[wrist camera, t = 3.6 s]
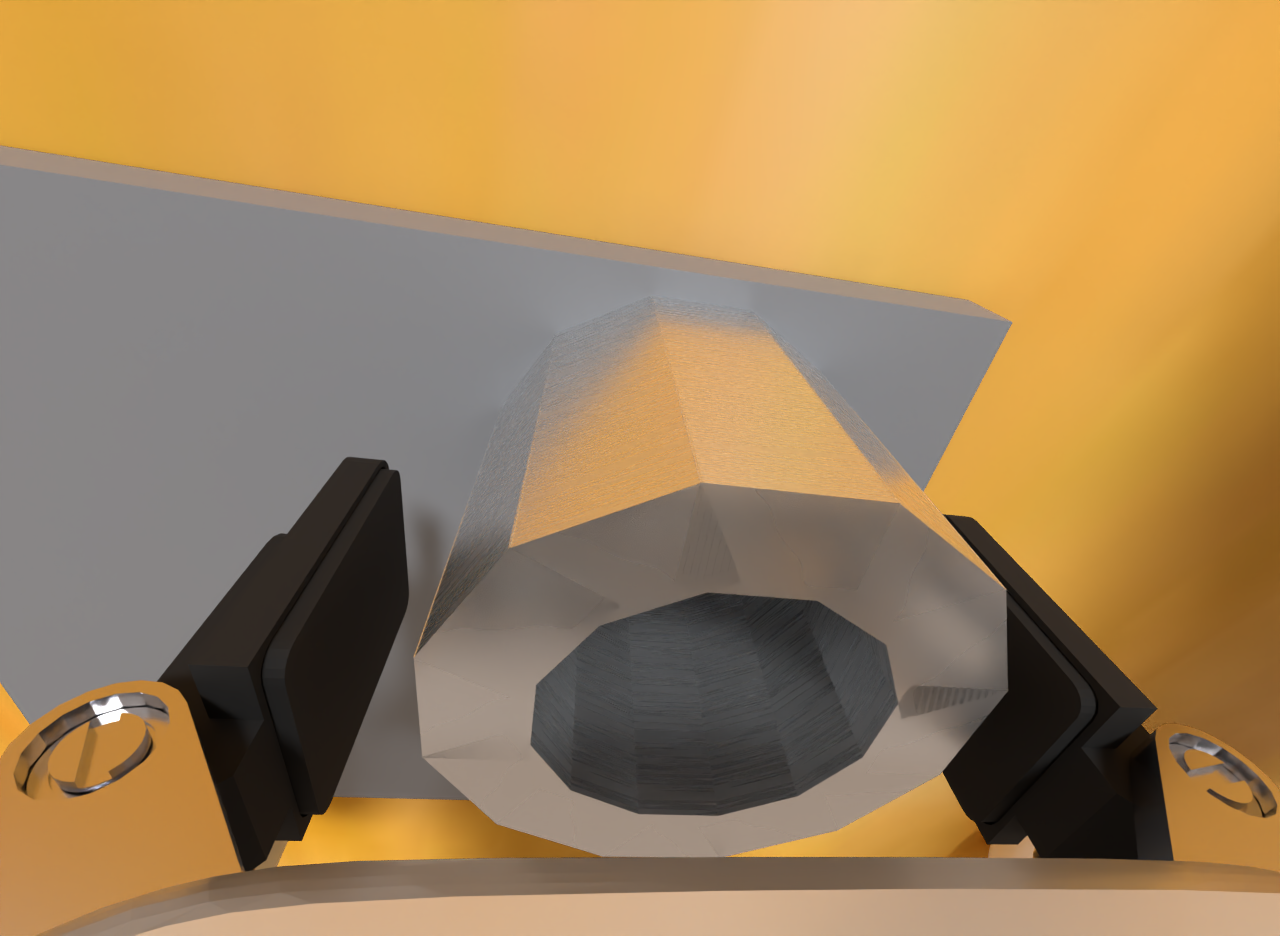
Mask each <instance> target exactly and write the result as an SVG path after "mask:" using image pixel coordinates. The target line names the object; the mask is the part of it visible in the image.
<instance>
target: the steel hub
mask: <svg viewBox="0 0 1280 936" xmlns="http://www.w3.org/2000/svg"><path fill="white" fill-rule="evenodd" d="M1006 591H1007V590H1006V588H1005V587H1004V586H1003V585H1002V584H1001V582H1000V581H999V580H998V579H997V578H996V577H995V575H994V574H993V573H992V572H991V571H990V569H989V568H988V567H987V566H986V565H985V564H984V562H983V561H982V560H981V559H980V558H979V557H978V555H977V554H976V553H975V552H974V551H973V550H972V548H971V547H970V546H969V545H968V544H967V543H966V541H965V540H964V539H963V538H962V537H961V535H960V534H959V533H958V532H957V531H956V530H955V528H954V527H953V526H952V525H951V524H950V523H949V521H948V520H947V519H946V518H945V517H944V516H943V514H942V513H941V512H940V511H939V510H938V509H937V507H936V506H935V505H934V504H933V503H932V502H931V500H930V499H929V498H928V497H927V496H926V494H925V493H924V492H923V491H922V490H921V489H920V487H919V486H918V485H917V484H916V483H915V482H914V480H913V479H912V478H911V477H910V476H909V475H908V473H907V472H906V471H905V470H904V469H903V468H902V466H901V465H900V464H899V463H898V462H897V460H896V459H895V458H894V457H893V456H892V455H891V453H890V452H889V451H888V450H887V449H886V448H885V446H884V445H883V444H882V443H881V442H880V441H879V439H878V438H877V437H876V436H875V435H874V434H873V432H872V431H871V430H870V429H869V428H868V426H867V425H866V424H865V423H864V422H863V421H862V419H861V418H860V417H859V416H858V415H857V414H856V412H855V411H854V410H853V409H852V408H851V407H850V405H849V404H848V403H847V402H846V401H845V400H844V398H843V397H842V396H841V395H840V394H839V393H838V391H837V390H836V389H835V388H834V387H833V385H832V384H831V383H830V382H829V381H828V380H827V378H826V377H825V376H824V375H823V374H822V373H821V371H820V370H819V369H817V368H816V367H815V366H814V365H813V364H812V363H811V362H810V361H808V360H807V359H806V358H805V357H804V356H803V355H802V354H801V353H799V352H798V351H797V350H796V349H795V348H794V347H793V346H791V345H790V344H789V343H788V342H787V341H786V340H785V339H784V338H782V337H781V336H780V335H779V334H778V333H777V332H776V331H774V330H773V329H772V328H771V327H770V326H769V325H768V324H767V323H765V322H764V321H763V320H762V319H761V318H760V317H759V316H758V315H756V314H755V313H754V312H753V311H752V310H746V309H739V308H733V307H726V306H719V305H713V304H706V303H699V302H692V301H686V300H679V299H672V298H665V297H659V296H652V295H651V296H649V297H646V298H644V299H641V300H639V301H636V302H634V303H631V304H629V305H626V306H624V307H621V308H619V309H616V310H614V311H611V312H609V313H606V314H604V315H601V316H599V317H596V318H594V319H591V320H589V321H586V322H584V323H581V324H579V325H576V326H574V327H571V328H569V329H566V330H564V331H561V332H559V333H556V334H555V336H554V337H553V338H552V340H551V341H550V342H549V344H548V345H547V346H546V348H545V349H544V350H543V352H542V353H541V354H540V356H539V357H538V358H537V360H536V361H535V363H534V364H533V365H532V367H531V368H530V369H529V371H528V372H527V373H526V375H525V376H524V377H523V379H522V380H521V381H520V383H519V384H518V385H517V387H516V388H515V389H514V391H513V392H512V393H511V395H510V396H509V397H508V399H507V400H506V401H505V403H504V404H503V405H502V407H501V410H500V412H499V415H498V418H497V421H496V424H495V427H494V430H493V432H492V435H491V438H490V441H489V444H488V447H487V449H486V452H485V455H484V458H483V461H482V464H481V467H480V469H479V472H478V475H477V478H476V481H475V484H474V486H473V489H472V492H471V495H470V498H469V501H468V504H467V506H466V509H465V512H464V515H463V518H462V521H461V524H460V526H459V529H458V532H457V535H456V538H455V541H454V543H453V546H452V549H451V552H450V555H449V558H448V561H447V563H446V566H445V569H444V572H443V575H442V578H441V580H440V583H439V586H438V589H437V592H436V595H435V598H434V600H433V603H432V606H431V609H430V612H429V615H428V618H427V620H426V623H425V626H424V629H423V632H422V635H421V637H420V640H419V643H418V646H417V649H416V652H415V655H414V657H413V658H414V666H415V678H416V690H417V701H418V713H419V725H420V736H421V748H422V758H424V759H425V760H426V761H427V762H428V763H429V764H430V765H431V766H433V767H434V768H435V769H436V770H437V771H438V772H439V773H440V774H441V775H443V776H444V777H445V778H446V779H447V780H448V781H449V782H450V783H451V784H453V785H454V786H455V787H456V788H457V789H458V790H459V791H460V792H461V793H463V794H464V795H465V796H466V797H467V798H468V799H469V800H470V801H471V802H473V803H474V804H475V805H476V806H477V807H478V808H479V809H480V810H481V811H483V812H484V813H485V814H486V815H487V816H488V817H489V818H490V819H491V820H493V821H494V822H495V823H496V824H497V825H501V826H504V827H507V828H511V829H514V830H517V831H521V832H524V833H527V834H530V835H534V836H537V837H540V838H544V839H547V840H550V841H553V842H557V843H560V844H563V845H567V846H570V847H573V848H576V849H580V850H583V851H586V852H590V853H593V854H596V855H599V856H602V857H726V856H730V855H735V854H739V853H743V852H748V851H752V850H756V849H760V848H765V847H769V846H773V845H777V844H782V843H786V842H790V841H794V840H799V839H803V838H807V837H811V836H816V835H820V834H824V833H829V832H833V831H837V830H839V829H841V828H843V827H844V826H846V825H848V824H850V823H852V822H854V821H855V820H857V819H859V818H861V817H863V816H865V815H866V814H868V813H870V812H872V811H874V810H876V809H878V808H879V807H881V806H883V805H885V804H887V803H889V802H890V801H892V800H894V799H896V798H898V797H900V796H901V795H903V794H905V793H907V792H909V791H911V790H913V789H914V788H916V787H918V786H920V785H922V784H924V783H925V782H927V781H929V780H931V779H933V778H935V777H936V776H938V775H940V774H941V773H942V771H943V770H944V769H945V768H946V766H947V765H948V764H949V763H950V762H951V760H952V759H953V758H954V757H955V755H956V754H957V753H958V752H959V750H960V749H961V748H962V747H963V746H964V744H965V743H966V742H967V741H968V739H969V738H970V737H971V736H972V734H973V733H974V732H975V731H976V730H977V728H978V727H979V726H980V725H981V723H982V722H983V721H984V720H985V719H986V717H987V716H988V715H989V714H990V712H991V711H992V710H993V709H994V707H995V706H996V705H997V704H998V703H999V701H1000V700H1001V699H1002V698H1003V696H1004V695H1005V694H1006V693H1007V692H1008V676H1007V607H1006Z"/></svg>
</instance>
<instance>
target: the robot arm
mask: <svg viewBox="0 0 1280 936" xmlns="http://www.w3.org/2000/svg"><path fill="white" fill-rule="evenodd" d="M943 516H944V517H945V518H946V519H947V520H948V521H949V523H950V524H951V525H952V526H953V527H954V528H955V530H956V531H957V532H958V533H959V534H960V535H961V537H962V538H963V539H964V540H965V541H966V543H967V544H968V545H969V546H970V547H971V548H972V550H973V551H974V552H975V553H976V554H977V555H978V557H979V558H980V559H981V560H982V561H983V562H984V564H985V565H986V566H987V567H988V568H989V569H990V571H991V572H992V573H993V574H994V575H995V577H996V578H997V579H998V580H999V581H1000V582H1001V584H1002V585H1003V586H1004V587H1005V588H1006V590H1007V591H1006V607H1007V676H1008V692H1007V693H1006V694H1005V695H1004V696H1003V698H1002V699H1001V700H1000V701H999V703H998V704H997V705H996V706H995V707H994V709H993V710H992V711H991V712H990V714H989V715H988V716H987V717H986V719H985V720H984V721H983V722H982V723H981V725H980V726H979V727H978V728H977V730H976V731H975V732H974V733H973V734H972V736H971V737H970V738H969V739H968V741H967V742H966V743H965V744H964V746H963V747H962V748H961V749H960V750H959V752H958V753H957V754H956V755H955V757H954V758H953V759H952V760H951V762H950V763H949V764H948V765H947V766H946V768H945V769H944V770H943V771H942V772H943V774H944V776H945V778H946V779H947V781H948V783H949V785H950V787H951V789H952V791H953V793H954V794H955V796H956V798H957V800H958V802H959V804H960V806H961V807H962V809H963V811H964V812H965V814H966V815H967V816H968V817H969V818H970V819H971V820H973V821H975V823H976V825H977V826H978V828H979V830H980V832H981V834H982V836H983V837H984V839H985V841H986V843H987V844H1001V845H1018V844H1019V843H1020V842H1021V841H1022V840H1023V839H1024V838H1025V837H1026V836H1028V837H1029V839H1030V841H1031V842H1032V844H1033V846H1034V847H1035V848H1034V851H1033V858H939V857H610V858H476V859H431V860H386V861H352V862H338V863H324V864H310V865H296V866H282V867H272V868H265V869H259V870H255V868H256V867H257V866H259V865H260V864H262V863H263V862H264V861H266V860H267V858H268V855H269V853H270V851H271V849H272V847H273V844H274V842H275V841H302V839H303V837H304V834H305V832H306V829H307V827H308V824H309V822H310V820H311V817H312V815H313V814H314V815H322V814H324V813H325V812H326V810H327V809H328V807H329V805H330V803H331V801H332V799H333V796H334V793H335V791H336V788H337V786H338V783H339V781H340V778H341V776H342V773H343V771H344V768H345V765H346V763H347V760H348V758H349V755H350V753H351V750H352V748H353V745H354V743H355V740H356V738H357V735H358V732H359V730H360V727H361V725H362V722H363V720H364V717H365V715H366V712H367V710H368V707H369V705H370V702H371V699H372V697H373V694H374V692H375V689H376V687H377V684H378V682H379V679H380V677H381V674H382V672H383V669H384V666H385V664H386V661H387V659H388V656H389V654H390V651H391V649H392V646H393V644H394V641H395V638H396V636H397V633H398V631H399V628H400V626H401V623H402V621H403V618H404V616H405V613H406V610H407V606H408V600H409V582H408V569H407V556H406V543H405V530H404V517H403V504H402V491H401V478H400V473H399V471H397V470H389V466H388V464H387V462H386V461H385V460H378V459H368V458H358V457H346V458H345V459H344V460H343V461H342V462H341V464H340V465H339V466H338V468H337V469H336V470H335V472H334V473H333V474H332V476H331V477H330V478H329V479H328V481H327V482H326V483H325V485H324V486H323V487H322V489H321V490H320V491H319V493H318V494H317V495H316V497H315V498H314V499H313V500H312V502H311V503H310V504H309V506H308V507H307V508H306V510H305V511H304V512H303V514H302V515H301V516H300V518H299V519H298V520H297V521H296V523H295V524H294V525H293V527H292V528H291V529H290V531H289V532H288V533H287V534H284V533H280V534H278V535H275V536H273V537H272V538H271V539H270V540H269V541H268V542H267V543H266V544H265V546H264V547H263V548H262V549H261V551H260V552H259V553H258V555H257V556H256V557H255V558H254V560H253V561H252V562H251V563H250V565H249V566H248V567H247V568H246V570H245V571H244V572H243V573H242V575H241V576H240V577H239V578H238V580H237V581H236V582H235V583H234V585H233V586H232V587H231V589H230V590H229V591H228V592H227V594H226V595H225V596H224V597H223V599H222V600H221V601H220V602H219V604H218V605H217V606H216V607H215V609H214V610H213V611H212V612H211V614H210V615H209V616H208V617H207V619H206V620H205V621H204V623H203V624H202V625H201V626H200V628H199V629H198V630H197V631H196V633H195V634H194V635H193V636H192V638H191V639H190V640H189V641H188V643H187V644H186V645H185V646H184V648H183V649H182V650H181V651H180V653H179V654H178V655H177V657H176V658H175V659H174V660H173V662H172V663H171V664H170V665H169V667H168V668H167V669H166V670H165V672H164V673H163V674H162V675H161V677H160V678H159V679H158V680H157V682H154V681H145V680H138V681H130V682H121V683H115V684H111V685H108V686H105V687H101V688H98V689H95V690H91V691H88V692H86V693H84V694H82V695H80V696H77V697H75V698H73V699H71V700H69V701H67V702H65V703H63V704H60V705H58V706H57V707H55V708H54V709H52V710H51V711H49V712H48V713H46V714H45V715H44V716H42V717H41V718H39V719H38V720H36V721H35V722H33V723H32V724H30V725H29V726H28V727H27V728H26V729H25V730H24V731H23V732H22V733H21V734H20V735H19V736H18V737H17V738H16V739H15V740H14V741H13V742H11V743H10V744H9V746H8V747H7V749H6V750H5V752H4V753H3V755H2V756H1V758H0V936H1280V790H1279V789H1278V787H1277V786H1276V785H1275V784H1274V783H1273V781H1272V780H1271V779H1270V778H1269V777H1268V776H1267V775H1266V774H1265V773H1264V772H1263V771H1261V770H1260V769H1259V768H1258V767H1257V766H1256V765H1255V764H1254V763H1253V762H1251V761H1250V760H1249V759H1247V758H1246V757H1245V756H1243V755H1242V754H1241V753H1239V752H1238V751H1236V750H1235V749H1234V748H1232V747H1231V746H1229V745H1227V744H1226V743H1224V742H1222V741H1220V740H1219V739H1217V738H1215V737H1213V736H1212V735H1210V734H1207V733H1205V732H1203V731H1200V730H1198V729H1196V728H1193V727H1190V726H1186V725H1181V724H1177V723H1170V724H1163V725H1161V726H1160V727H1159V728H1157V729H1156V730H1155V731H1154V732H1153V733H1152V734H1151V735H1150V734H1149V733H1148V732H1147V731H1146V730H1145V729H1144V727H1143V726H1142V725H1141V724H1142V723H1143V722H1144V721H1145V720H1146V719H1147V718H1148V717H1149V716H1150V715H1151V714H1152V713H1153V712H1154V711H1155V710H1156V709H1157V708H1156V707H1155V706H1154V705H1153V704H1152V703H1151V701H1150V700H1149V699H1148V698H1147V697H1146V696H1145V695H1144V694H1143V693H1142V692H1141V691H1140V690H1139V689H1138V688H1137V687H1136V686H1135V685H1134V684H1133V683H1132V682H1131V681H1130V680H1129V679H1128V678H1127V677H1126V676H1125V675H1124V673H1123V672H1122V671H1121V670H1120V669H1119V668H1118V667H1117V666H1116V665H1115V664H1114V663H1113V662H1112V661H1111V660H1110V659H1109V658H1108V657H1107V656H1106V655H1105V654H1104V653H1103V652H1102V651H1101V650H1100V649H1099V648H1098V647H1097V646H1096V644H1095V643H1094V642H1093V641H1092V640H1091V639H1090V638H1089V637H1088V636H1087V635H1086V634H1085V633H1084V632H1083V631H1082V630H1081V629H1080V628H1079V627H1078V626H1077V625H1076V624H1075V623H1074V622H1073V621H1072V620H1071V619H1070V618H1069V616H1068V615H1067V614H1066V613H1065V612H1064V611H1063V610H1062V609H1061V608H1060V607H1059V606H1058V605H1057V604H1056V603H1055V602H1054V601H1053V600H1052V599H1051V598H1050V597H1049V596H1048V595H1047V594H1046V593H1045V592H1044V591H1043V590H1042V588H1041V587H1040V586H1039V585H1038V584H1037V583H1036V582H1035V581H1034V580H1033V579H1032V578H1031V577H1030V576H1029V575H1028V574H1027V573H1026V572H1025V571H1024V570H1023V569H1022V568H1021V567H1020V566H1019V565H1018V564H1017V563H1016V562H1015V561H1014V559H1013V558H1012V557H1011V556H1010V555H1009V554H1008V553H1007V552H1006V551H1005V550H1004V549H1003V548H1002V547H1001V546H1000V545H999V544H998V543H997V542H996V541H995V540H994V539H993V538H992V537H991V536H990V535H989V534H988V533H987V531H986V530H985V529H984V528H983V527H982V526H981V525H980V524H979V523H978V522H977V521H976V520H974V519H973V518H970V517H965V516H955V515H944V514H943Z"/></svg>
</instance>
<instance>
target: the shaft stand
mask: <svg viewBox="0 0 1280 936" xmlns="http://www.w3.org/2000/svg"><path fill="white" fill-rule="evenodd" d="M651 295H652V296H659V297H665V298H672V299H679V300H686V301H692V302H699V303H706V304H713V305H719V306H726V307H733V308H739V309H746V310H752V311H753V312H754V313H755V314H756V315H758V316H759V317H760V318H761V319H762V320H763V321H764V322H765V323H767V324H768V325H769V326H770V327H771V328H772V329H773V330H774V331H776V332H777V333H778V334H779V335H780V336H781V337H782V338H784V339H785V340H786V341H787V342H788V343H789V344H790V345H791V346H793V347H794V348H795V349H796V350H797V351H798V352H799V353H801V354H802V355H803V356H804V357H805V358H806V359H807V360H808V361H810V362H811V363H812V364H813V365H814V366H815V367H816V368H817V369H819V370H820V371H821V373H822V374H823V375H824V376H825V377H826V378H827V380H828V381H829V382H830V383H831V384H832V385H833V387H834V388H835V389H836V390H837V391H838V393H839V394H840V395H841V396H842V397H843V398H844V400H845V401H846V402H847V403H848V404H849V405H850V407H851V408H852V409H853V410H854V411H855V412H856V414H857V415H858V416H859V417H860V418H861V419H862V421H863V422H864V423H865V424H866V425H867V426H868V428H869V429H870V430H871V431H872V432H873V434H874V435H875V436H876V437H877V438H878V439H879V441H880V442H881V443H882V444H883V445H884V446H885V448H886V449H887V450H888V451H889V452H890V453H891V455H892V456H893V457H894V458H895V459H896V460H897V462H898V463H899V464H900V465H901V466H902V468H903V469H904V470H905V471H906V472H907V473H908V475H909V476H910V477H911V478H912V479H913V480H914V482H915V483H916V484H917V485H918V486H919V487H920V489H921V490H922V491H924V489H925V488H926V486H927V484H928V482H929V480H930V478H931V476H932V474H933V472H934V470H935V469H936V467H937V465H938V463H939V461H940V459H941V457H942V455H943V453H944V451H945V450H946V448H947V446H948V444H949V442H950V440H951V438H952V436H953V434H954V432H955V430H956V429H957V427H958V425H959V423H960V421H961V419H962V417H963V415H964V413H965V411H966V410H967V408H968V406H969V404H970V402H971V400H972V398H973V396H974V394H975V392H976V391H977V389H978V387H979V385H980V383H981V381H982V379H983V377H984V375H985V373H986V372H987V370H988V368H989V366H990V364H991V362H992V360H993V358H994V356H995V354H996V353H997V351H998V349H999V347H1000V345H1001V343H1002V341H1003V339H1004V337H1005V335H1006V333H1007V332H1008V330H1009V328H1010V326H1011V324H1012V322H1011V321H1009V320H1007V319H1005V318H1003V317H1001V316H999V315H997V314H995V313H993V312H991V311H989V310H987V309H985V308H983V307H981V306H979V305H977V304H975V303H973V302H971V301H969V300H964V299H958V298H952V297H946V296H939V295H933V294H927V293H920V292H914V291H908V290H902V289H895V288H889V287H883V286H877V285H870V284H864V283H858V282H852V281H845V280H839V279H833V278H827V277H820V276H814V275H808V274H801V273H795V272H789V271H783V270H776V269H770V268H764V267H758V266H751V265H745V264H739V263H733V262H726V261H720V260H714V259H708V258H701V257H695V256H689V255H682V254H676V253H670V252H664V251H657V250H651V249H645V248H639V247H632V246H626V245H620V244H614V243H607V242H601V241H595V240H589V239H582V238H576V237H570V236H563V235H557V234H551V233H545V232H538V231H532V230H526V229H520V228H513V227H507V226H501V225H495V224H488V223H482V222H476V221H469V220H463V219H457V218H451V217H444V216H438V215H432V214H426V213H419V212H413V211H407V210H401V209H394V208H388V207H382V206H376V205H369V204H363V203H357V202H350V201H344V200H338V199H332V198H325V197H319V196H313V195H307V194H300V193H294V192H288V191H282V190H275V189H269V188H263V187H257V186H250V185H244V184H238V183H231V182H225V181H219V180H213V179H206V178H200V177H194V176H188V175H181V174H175V173H169V172H163V171H156V170H150V169H144V168H138V167H131V166H125V165H119V164H112V163H106V162H100V161H94V160H87V159H81V158H75V157H69V156H62V155H56V154H50V153H44V152H37V151H31V150H25V149H19V148H12V147H6V146H0V683H1V684H2V686H3V687H4V688H5V690H6V691H7V693H8V694H9V696H10V697H11V698H12V700H13V701H14V703H15V704H16V705H17V707H18V708H19V710H20V711H21V712H22V714H23V715H24V717H25V718H26V719H27V721H28V722H29V724H32V723H33V722H35V721H36V720H38V719H39V718H41V717H42V716H44V715H45V714H46V713H48V712H49V711H51V710H52V709H54V708H55V707H57V706H58V705H60V704H63V703H65V702H67V701H69V700H71V699H73V698H75V697H77V696H80V695H82V694H84V693H86V692H88V691H91V690H95V689H98V688H101V687H105V686H108V685H111V684H115V683H121V682H130V681H138V680H145V681H154V682H157V680H158V679H159V678H160V677H161V675H162V674H163V673H164V672H165V670H166V669H167V668H168V667H169V665H170V664H171V663H172V662H173V660H174V659H175V658H176V657H177V655H178V654H179V653H180V651H181V650H182V649H183V648H184V646H185V645H186V644H187V643H188V641H189V640H190V639H191V638H192V636H193V635H194V634H195V633H196V631H197V630H198V629H199V628H200V626H201V625H202V624H203V623H204V621H205V620H206V619H207V617H208V616H209V615H210V614H211V612H212V611H213V610H214V609H215V607H216V606H217V605H218V604H219V602H220V601H221V600H222V599H223V597H224V596H225V595H226V594H227V592H228V591H229V590H230V589H231V587H232V586H233V585H234V583H235V582H236V581H237V580H238V578H239V577H240V576H241V575H242V573H243V572H244V571H245V570H246V568H247V567H248V566H249V565H250V563H251V562H252V561H253V560H254V558H255V557H256V556H257V555H258V553H259V552H260V551H261V549H262V548H263V547H264V546H265V544H266V543H267V542H268V541H269V540H270V539H271V538H272V537H273V536H275V535H278V534H280V533H284V534H287V533H288V532H289V531H290V529H291V528H292V527H293V525H294V524H295V523H296V521H297V520H298V519H299V518H300V516H301V515H302V514H303V512H304V511H305V510H306V508H307V507H308V506H309V504H310V503H311V502H312V500H313V499H314V498H315V497H316V495H317V494H318V493H319V491H320V490H321V489H322V487H323V486H324V485H325V483H326V482H327V481H328V479H329V478H330V477H331V476H332V474H333V473H334V472H335V470H336V469H337V468H338V466H339V465H340V464H341V462H342V461H343V460H344V459H345V458H346V457H358V458H368V459H378V460H385V461H386V462H387V464H388V466H389V470H397V471H399V473H400V478H401V491H402V504H403V517H404V530H405V543H406V556H407V569H408V582H409V600H408V606H407V610H406V613H405V616H404V618H403V621H402V623H401V626H400V628H399V631H398V633H397V636H396V638H395V641H394V644H393V646H392V649H391V651H390V654H389V656H388V659H387V661H386V664H385V666H384V669H383V672H382V674H381V677H380V679H379V682H378V684H377V687H376V689H375V692H374V694H373V697H372V699H371V702H370V705H369V707H368V710H367V712H366V715H365V717H364V720H363V722H362V725H361V727H360V730H359V732H358V735H357V738H356V740H355V743H354V745H353V748H352V750H351V753H350V755H349V758H348V760H347V763H346V765H345V768H344V771H343V773H342V776H341V778H340V781H339V783H338V786H337V788H336V791H335V793H334V796H333V797H366V798H407V799H449V800H469V799H468V798H467V797H466V796H465V795H464V794H463V793H461V792H460V791H459V790H458V789H457V788H456V787H455V786H454V785H453V784H451V783H450V782H449V781H448V780H447V779H446V778H445V777H444V776H443V775H441V774H440V773H439V772H438V771H437V770H436V769H435V768H434V767H433V766H431V765H430V764H429V763H428V762H427V761H426V760H425V759H424V758H422V748H421V736H420V725H419V713H418V701H417V690H416V678H415V666H414V658H413V657H414V655H415V652H416V649H417V646H418V643H419V640H420V637H421V635H422V632H423V629H424V626H425V623H426V620H427V618H428V615H429V612H430V609H431V606H432V603H433V600H434V598H435V595H436V592H437V589H438V586H439V583H440V580H441V578H442V575H443V572H444V569H445V566H446V563H447V561H448V558H449V555H450V552H451V549H452V546H453V543H454V541H455V538H456V535H457V532H458V529H459V526H460V524H461V521H462V518H463V515H464V512H465V509H466V506H467V504H468V501H469V498H470V495H471V492H472V489H473V486H474V484H475V481H476V478H477V475H478V472H479V469H480V467H481V464H482V461H483V458H484V455H485V452H486V449H487V447H488V444H489V441H490V438H491V435H492V432H493V430H494V427H495V424H496V421H497V418H498V415H499V412H500V410H501V407H502V405H503V404H504V403H505V401H506V400H507V399H508V397H509V396H510V395H511V393H512V392H513V391H514V389H515V388H516V387H517V385H518V384H519V383H520V381H521V380H522V379H523V377H524V376H525V375H526V373H527V372H528V371H529V369H530V368H531V367H532V365H533V364H534V363H535V361H536V360H537V358H538V357H539V356H540V354H541V353H542V352H543V350H544V349H545V348H546V346H547V345H548V344H549V342H550V341H551V340H552V338H553V337H554V336H555V334H556V333H559V332H561V331H564V330H566V329H569V328H571V327H574V326H576V325H579V324H581V323H584V322H586V321H589V320H591V319H594V318H596V317H599V316H601V315H604V314H606V313H609V312H611V311H614V310H616V309H619V308H621V307H624V306H626V305H629V304H631V303H634V302H636V301H639V300H641V299H644V298H646V297H649V296H651ZM287 842H288V841H275V842H274V844H273V847H272V849H271V851H270V853H269V855H268V858H267V860H266V861H264V862H263V863H262V864H260V865H259V866H257V867H256V868H255V870H259V869H265V868H272V867H277V865H278V863H279V860H280V858H281V856H282V853H283V851H284V849H285V846H286V844H287Z"/></svg>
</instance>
